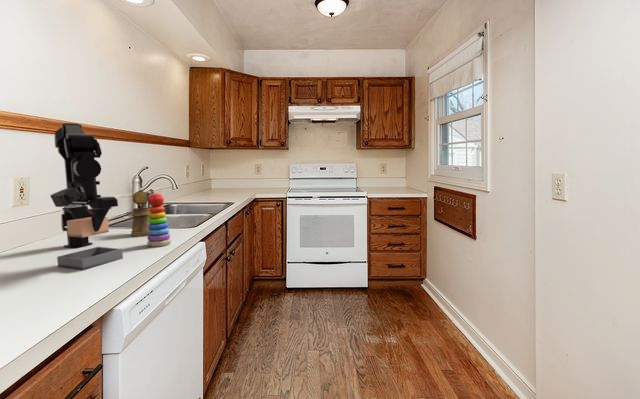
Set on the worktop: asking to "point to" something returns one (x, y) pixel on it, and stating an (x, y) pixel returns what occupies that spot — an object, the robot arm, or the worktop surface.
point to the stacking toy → (157, 222)
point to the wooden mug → (140, 215)
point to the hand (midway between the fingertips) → (88, 230)
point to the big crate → (89, 258)
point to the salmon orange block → (85, 227)
